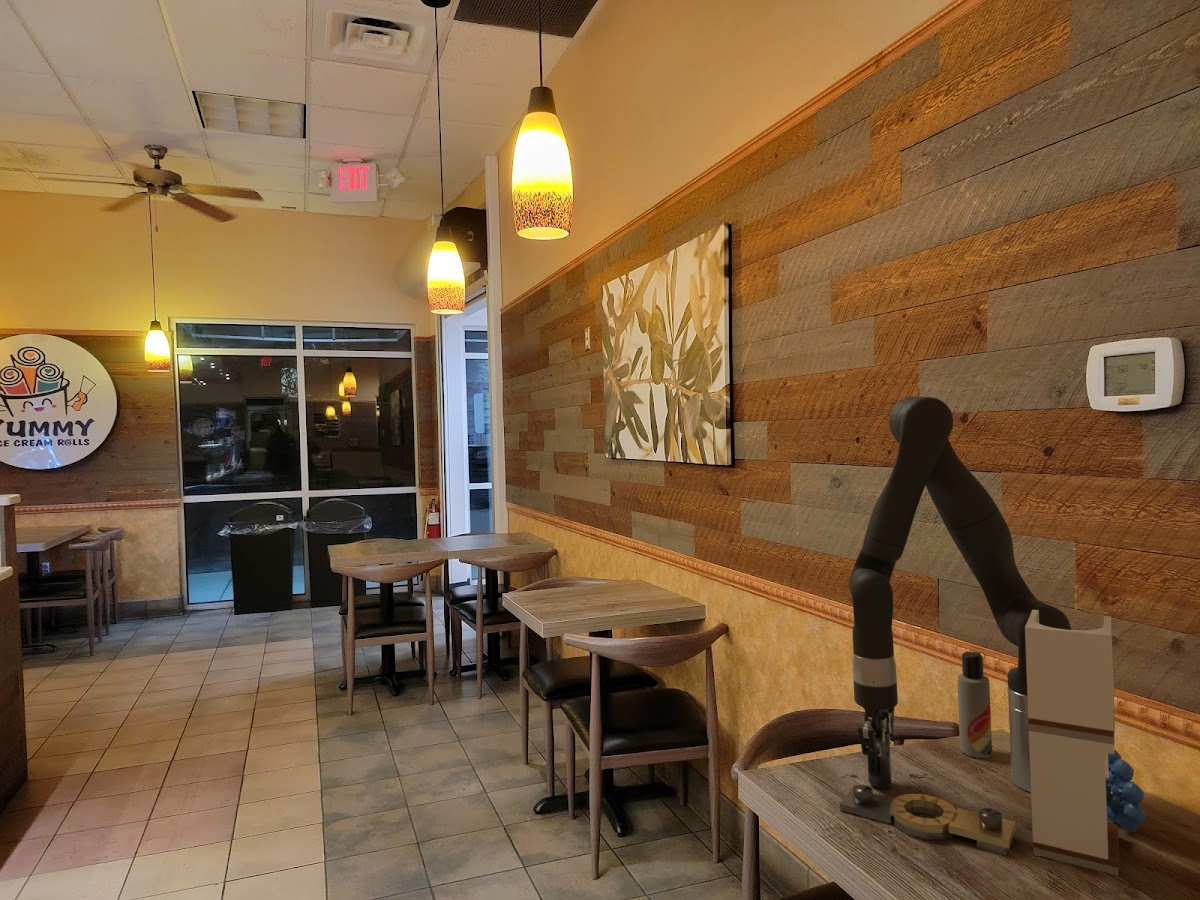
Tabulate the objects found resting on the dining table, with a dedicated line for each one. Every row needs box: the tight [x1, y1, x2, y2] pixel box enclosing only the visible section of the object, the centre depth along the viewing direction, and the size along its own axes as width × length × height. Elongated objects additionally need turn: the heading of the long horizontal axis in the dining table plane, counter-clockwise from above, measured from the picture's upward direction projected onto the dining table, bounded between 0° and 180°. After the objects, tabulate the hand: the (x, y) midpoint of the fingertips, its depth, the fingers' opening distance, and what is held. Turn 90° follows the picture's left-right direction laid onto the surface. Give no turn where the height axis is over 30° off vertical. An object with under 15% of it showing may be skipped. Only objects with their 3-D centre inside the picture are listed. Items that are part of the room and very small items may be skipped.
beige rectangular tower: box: [1025, 610, 1120, 877], centre depth 115 cm, size 11×11×35 cm
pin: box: [866, 731, 893, 788], centre depth 137 cm, size 4×4×9 cm
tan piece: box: [839, 784, 1017, 856], centre depth 124 cm, size 10×26×4 cm, turn 53°
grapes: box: [1106, 748, 1147, 834], centre depth 120 cm, size 12×7×12 cm, turn 178°
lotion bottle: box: [956, 651, 993, 759], centre depth 148 cm, size 6×6×20 cm
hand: (879, 769), depth 137 cm, fingers closed on pin, 4 cm apart
